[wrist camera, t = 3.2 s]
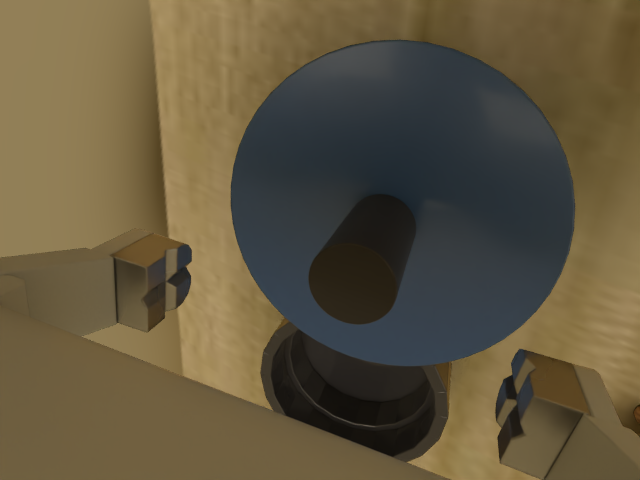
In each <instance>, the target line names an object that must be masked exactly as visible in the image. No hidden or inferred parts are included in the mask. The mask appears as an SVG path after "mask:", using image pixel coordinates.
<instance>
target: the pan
mask: <svg viewBox="0 0 640 480" xmlns="http://www.w3.org/2000/svg"><path fill="white" fill-rule="evenodd" d="M261 378H262V383H263V387H264V391H265V395H266V398H267V400H268V402H269V404H270V405H271V407H272V409H273V411H274V412H277V413H280V414H282V415H285V416H287V417H290V418H293V419H295V420H298V421H300V422H303V423H306V424H308V425H311V426H313V427H316V428H318V429H321V430H324V431H326V432H329V433H331V434H334V435H337V436H339V437H342V438H344V439H347V440H349V441H352V442H355V443H357V444H360V445H362V446H365V447H368V448H370V449H373V450H375V451H378V452H381V453H383V454H386V455H388V456H391V457H393V458H396V459H399V460H401V461H404V462H408V461H410V460H413V459H415V458H418V457H420V456H421V455H423V454H424V453H425V452H427V451H428V450H429V449H430V448H431V447H432V446H433V445H434V444H435V443H436V442H437V441H438V440H439V439H440V437H441V434H442V432H443V429H444V427H445V424H446V422H447V419H448V414H449V396H450V378H451V361H450V362H446V363H440V364H433V365H425V366H397V365H386V364H380V363H374V362H369V361H365V360H362V359H358V358H355V357H351V356H348V355H346V354H343V353H341V352H338V351H336V350H333V349H331V348H329V347H328V346H326V345H324V344H322V343H320V342H318V341H316V340H315V339H313V338H312V337H310V336H309V335H307V334H306V333H304V332H303V331H301V330H300V329H298V328H297V327H296V326H295V325H294V324H292V323H291V322H290V321H289V320H288V319H286V318H284V320H283V321H282V322H281V324H280V325H279V327H278V328H277V329H276V331H275V332H274V334H273V335H272V337H271V339H270V341H269V342H268V344H267V346H266V347H265V349H264V352H263V357H262V365H261Z"/></svg>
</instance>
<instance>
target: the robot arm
mask: <svg viewBox="0 0 640 480" xmlns="http://www.w3.org/2000/svg"><path fill="white" fill-rule="evenodd" d="M191 261H192V250H191V248H190V247H189V245H187V244H184V243H181V242H178V241H175V240H172V239H170V238H166V237H163V236H160V235H157V234H154V233H152V232H148V231H145V230H142V229H136V228H135V229H132V230H130V231H128V232H126V233H124V234H122V235H120V236H118V237H116V238H114V239H111V240H110V241H107V242H105V243H103V244H101V245H99V246H97V247H95V248H93V249H91V250H90V249H87V248H80V249H72V250H63V251H54V252H45V253H37V254H28V255H19V256H11V257H1V258H0V480H450V479H448V478H445V477H443V476H440V475H437V474H435V473H432V472H430V471H427V470H425V469H422V468H419V467H417V466H414V465H412V464H409V463H406V462H404V461H401V460H399V459H396V458H393V457H391V456H388V455H386V454H383V453H381V452H378V451H375V450H373V449H370V448H368V447H365V446H362V445H360V444H357V443H355V442H352V441H349V440H347V439H344V438H342V437H339V436H337V435H334V434H331V433H329V432H326V431H324V430H321V429H318V428H316V427H313V426H311V425H308V424H306V423H303V422H300V421H298V420H295V419H293V418H290V417H287V416H285V415H282V414H280V413H277V412H274V411H272V410H269V409H267V408H264V407H262V406H259V405H256V404H254V403H251V402H249V401H246V400H243V399H241V398H238V397H236V396H233V395H231V394H228V393H225V392H223V391H220V390H218V389H215V388H212V387H210V386H207V385H205V384H202V383H200V382H197V381H194V380H192V379H189V378H187V377H184V376H181V375H179V374H176V373H174V372H171V371H169V370H166V369H163V368H161V367H158V366H156V365H153V364H150V363H148V362H145V361H143V360H140V359H138V358H135V357H132V356H130V355H127V354H125V353H122V352H119V351H117V350H114V349H111V348H109V347H107V346H104V345H101V344H99V343H96V342H94V341H91V340H88V339H86V338H83V337H81V336H84V335H87V334H90V333H93V332H95V331H98V330H101V329H104V328H107V327H110V326H113V325H116V324H117V323H120V324H123V325H126V326H129V327H132V328H135V329H138V330H141V331H144V332H149V331H150V330H151V329H152V328H153V327H155V326H156V325H157V324H158V323H159V322H161V321H162V320H163V319H164V318H165V312H166V311H170V310H173V309H176V308H177V307H178V306H180V305H181V304H182V303H183V301H184V300H185V298H186V296H187V294H188V292H189V288H190V285H191V275H190V273H189V272H188V270H187V268H186V266H187V265H188V264H189V263H190V262H191ZM511 366H512V373H513V375H511V376H509V377H507V378H505V379H504V380H503V383H502V385H501V387H500V390H499V393H498V397H497V402H496V422H497V423H498V424H499V425H500V427H501V428H502V429H501V431H500V433H499V435H498V448H499V458H500V463H501V464H504V465H506V466H509V467H511V468H514V469H516V470H519V471H521V472H524V473H526V474H529V475H531V476H534V477H536V478H539V479H541V480H640V437H639V436H638V435H637V434H636V433H635V432H634V431H633V430H632V429H629V428H626V427H623V426H622V424H621V421H620V419H619V417H618V415H617V412H616V410H615V408H614V406H613V403H612V401H611V399H610V397H609V394H608V392H607V390H606V388H605V385H604V383H603V381H602V379H601V376H600V374H599V373H598V372H597V371H596V370H594V369H590V368H586V367H583V366H579V365H575V364H572V363H568V362H565V361H561V360H558V359H554V358H551V357H547V356H544V355H540V354H537V353H533V352H530V351H526V350H523V349H519V350H518V352H517V353H516V354H515V356H514V358H513V360H512V363H511Z"/></svg>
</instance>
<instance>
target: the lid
mask: <svg viewBox="0 0 640 480" xmlns="http://www.w3.org/2000/svg"><path fill="white" fill-rule="evenodd" d="M231 211H232V220H233V226H234V230H235V234H236V238H237V242H238V245H239V248H240V251H241V253H242V256H243V259H244V261H245V263H246V265H247V267H248V269H249V271H250V273H251V275H252V277H253V278H254V280H255V281H256V283H257V284H258V286H259V288H260V289H261V291H262V292H263V293H264V294H265V296H266V297H267V298H268V299H269V301H270V302H271V303H272V304H273V306H274V307H275V308H276V309H277V310H278V311H279V312H280V313H281V314H282V315H283V316H284V317H285V318H286V319H288V320H289V321H290V322H291V323H292V324H294V325H295V326H296V327H297V328H298V329H300V330H301V331H303V332H304V333H306V334H307V335H309V336H310V337H312V338H313V339H315V340H316V341H318V342H320V343H322V344H324V345H326V346H328V347H329V348H331V349H333V350H336V351H338V352H341V353H343V354H346V355H348V356H351V357H355V358H358V359H362V360H365V361H369V362H374V363H380V364H386V365H397V366H425V365H433V364H440V363H446V362H450V361H454V360H457V359H461V358H465V357H468V356H470V355H473V354H475V353H478V352H480V351H483V350H485V349H487V348H489V347H491V346H492V345H494V344H496V343H498V342H500V341H501V340H503V339H505V338H506V337H507V336H509V335H510V334H511V333H513V332H514V331H515V330H517V329H518V328H519V327H521V326H522V325H523V324H524V323H525V322H526V321H527V320H528V319H529V318H530V317H531V316H532V315H533V314H534V313H535V312H536V311H537V310H538V308H539V307H540V306H541V304H542V303H543V302H544V301H545V299H546V298H547V297H548V295H549V294H550V293H551V291H552V289H553V287H554V285H555V284H556V282H557V280H558V278H559V277H560V275H561V272H562V270H563V267H564V265H565V262H566V259H567V257H568V254H569V251H570V246H571V241H572V236H573V232H574V219H575V199H574V189H573V180H572V177H571V173H570V169H569V166H568V162H567V158H566V155H565V153H564V151H563V149H562V146H561V144H560V142H559V140H558V137H557V135H556V133H555V131H554V130H553V128H552V127H551V125H550V124H549V122H548V121H547V119H546V117H545V116H544V114H543V113H542V111H541V110H540V109H539V108H538V107H537V105H536V104H535V103H534V102H533V101H532V100H531V99H530V98H529V97H528V95H527V94H526V93H525V92H524V91H523V90H522V89H521V88H519V87H518V86H517V85H516V84H515V83H513V82H512V81H511V80H510V79H509V78H507V77H506V76H505V75H504V74H502V73H501V72H499V71H498V70H496V69H494V68H493V67H491V66H489V65H488V64H486V63H484V62H483V61H481V60H479V59H477V58H475V57H472V56H470V55H467V54H465V53H462V52H460V51H458V50H455V49H452V48H448V47H444V46H440V45H436V44H432V43H428V42H420V41H410V40H380V41H371V42H365V43H360V44H355V45H350V46H347V47H344V48H341V49H338V50H335V51H332V52H330V53H327V54H325V55H323V56H321V57H319V58H317V59H315V60H313V61H311V62H309V63H307V64H305V65H304V66H303V67H301V68H300V69H298V70H297V71H296V72H294V73H293V74H291V75H290V76H288V77H287V78H286V79H285V80H284V81H283V82H282V83H281V84H280V85H279V86H278V87H276V88H275V89H274V90H273V91H272V92H271V93H270V94H269V96H268V97H267V98H266V100H265V101H264V102H263V103H262V105H261V106H260V107H259V108H258V110H257V111H256V113H255V115H254V116H253V118H252V120H251V121H250V123H249V125H248V127H247V128H246V131H245V133H244V136H243V138H242V140H241V143H240V145H239V148H238V152H237V155H236V159H235V163H234V167H233V174H232V181H231Z"/></svg>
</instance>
